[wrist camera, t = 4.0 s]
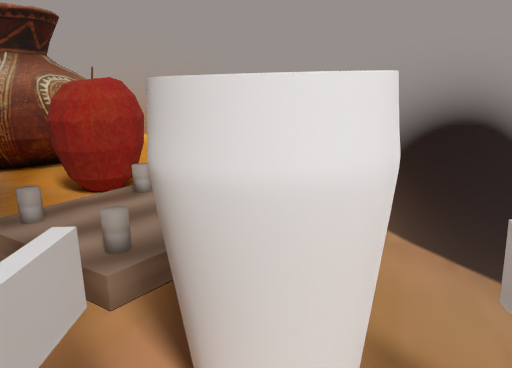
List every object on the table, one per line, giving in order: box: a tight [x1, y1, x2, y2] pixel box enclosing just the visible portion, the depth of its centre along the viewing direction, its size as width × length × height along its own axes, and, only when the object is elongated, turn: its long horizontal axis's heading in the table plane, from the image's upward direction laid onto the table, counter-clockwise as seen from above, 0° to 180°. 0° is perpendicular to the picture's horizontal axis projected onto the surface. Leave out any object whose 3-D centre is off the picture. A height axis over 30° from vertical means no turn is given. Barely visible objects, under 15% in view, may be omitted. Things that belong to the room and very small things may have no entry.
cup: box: [146, 70, 400, 368], centre depth 17 cm, size 9×9×12 cm
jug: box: [0, 3, 87, 169], centre depth 70 cm, size 30×30×25 cm
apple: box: [46, 67, 144, 191], centre depth 49 cm, size 10×10×14 cm
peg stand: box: [0, 163, 173, 311], centre depth 34 cm, size 16×16×4 cm
